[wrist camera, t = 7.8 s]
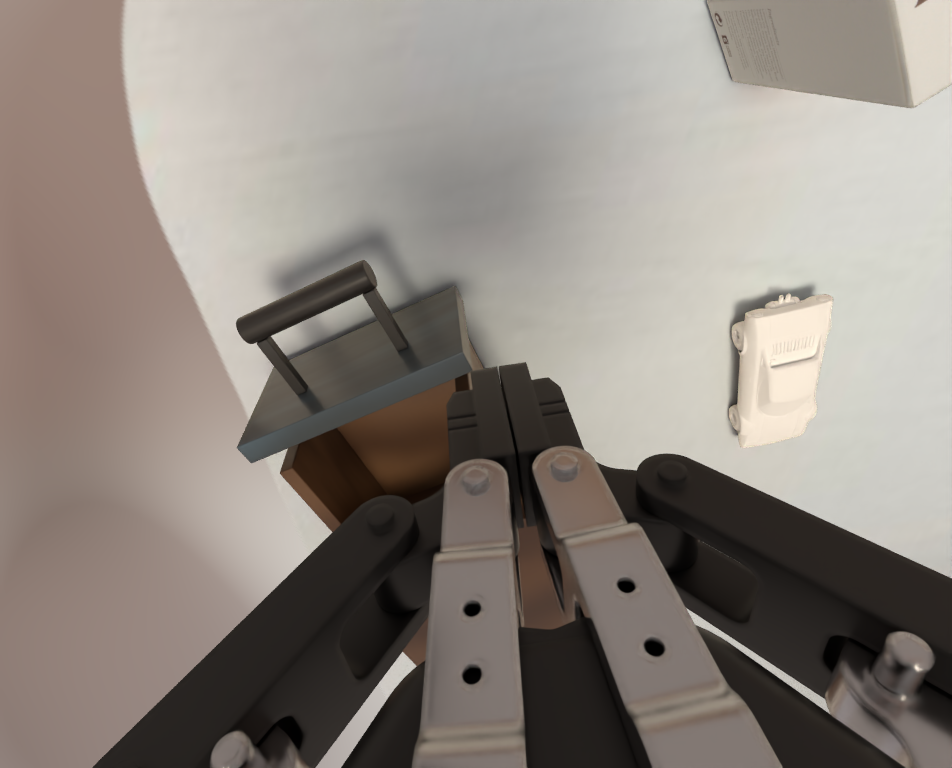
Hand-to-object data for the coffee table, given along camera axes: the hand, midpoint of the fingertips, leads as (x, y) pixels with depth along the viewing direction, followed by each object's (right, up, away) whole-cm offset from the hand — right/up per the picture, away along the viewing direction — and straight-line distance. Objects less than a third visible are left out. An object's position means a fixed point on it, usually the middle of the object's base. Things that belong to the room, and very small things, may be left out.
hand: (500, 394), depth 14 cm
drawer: (-6, +1, +20) cm, 21 cm away
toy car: (+19, +2, +23) cm, 30 cm away
